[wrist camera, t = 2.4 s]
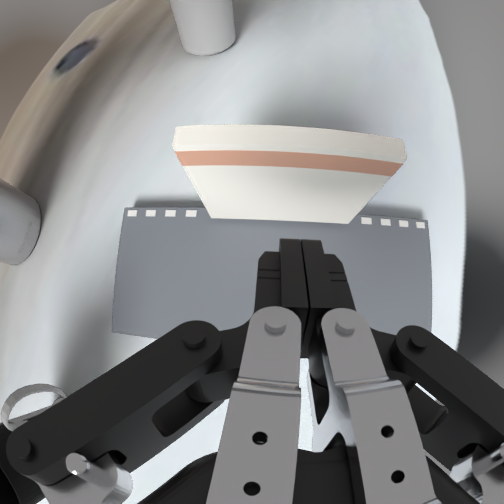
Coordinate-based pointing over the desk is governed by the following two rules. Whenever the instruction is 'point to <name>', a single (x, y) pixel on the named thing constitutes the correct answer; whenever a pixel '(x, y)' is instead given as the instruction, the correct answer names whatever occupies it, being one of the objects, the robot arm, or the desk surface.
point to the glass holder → (3, 474)
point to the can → (204, 25)
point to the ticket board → (246, 266)
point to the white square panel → (286, 170)
